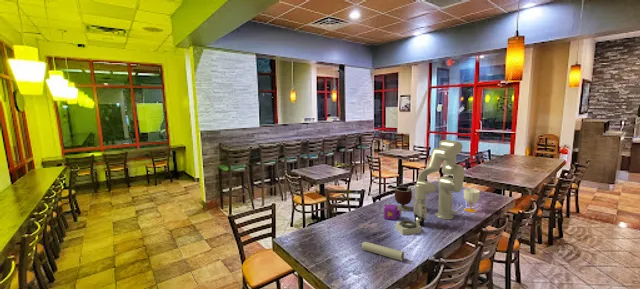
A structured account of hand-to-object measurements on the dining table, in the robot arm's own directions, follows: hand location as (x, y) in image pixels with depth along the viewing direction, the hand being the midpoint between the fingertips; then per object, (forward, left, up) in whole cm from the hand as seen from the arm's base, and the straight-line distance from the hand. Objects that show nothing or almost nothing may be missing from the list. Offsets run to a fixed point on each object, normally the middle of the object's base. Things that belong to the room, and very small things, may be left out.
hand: (419, 223), depth 201 cm
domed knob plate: (+13, +7, -1) cm, 15 cm away
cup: (-55, -13, -1) cm, 57 cm away
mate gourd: (-5, -31, -1) cm, 31 cm away
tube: (+44, +31, -1) cm, 54 cm away
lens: (0, 0, -1) cm, 1 cm away
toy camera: (+13, -16, -1) cm, 21 cm away
